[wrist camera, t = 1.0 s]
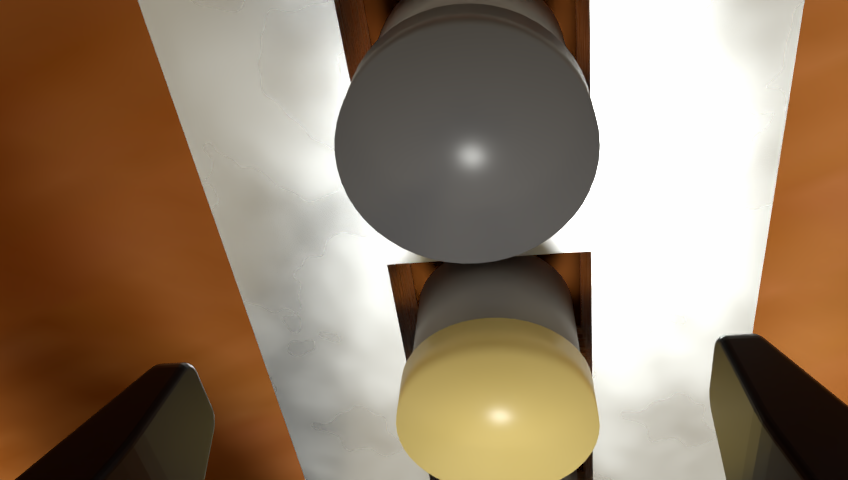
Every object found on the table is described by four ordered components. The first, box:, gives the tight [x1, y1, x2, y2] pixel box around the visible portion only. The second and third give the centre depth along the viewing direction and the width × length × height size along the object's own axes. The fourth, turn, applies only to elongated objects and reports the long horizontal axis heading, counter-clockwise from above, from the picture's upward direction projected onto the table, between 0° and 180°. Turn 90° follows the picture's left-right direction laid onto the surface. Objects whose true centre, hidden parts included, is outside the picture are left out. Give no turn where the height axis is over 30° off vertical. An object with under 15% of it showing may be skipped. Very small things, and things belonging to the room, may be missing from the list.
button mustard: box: [396, 255, 600, 480], centre depth 18 cm, size 5×5×4 cm
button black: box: [334, 0, 600, 264], centre depth 14 cm, size 5×5×4 cm
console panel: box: [138, 0, 804, 480], centre depth 20 cm, size 21×13×3 cm, turn 8°
